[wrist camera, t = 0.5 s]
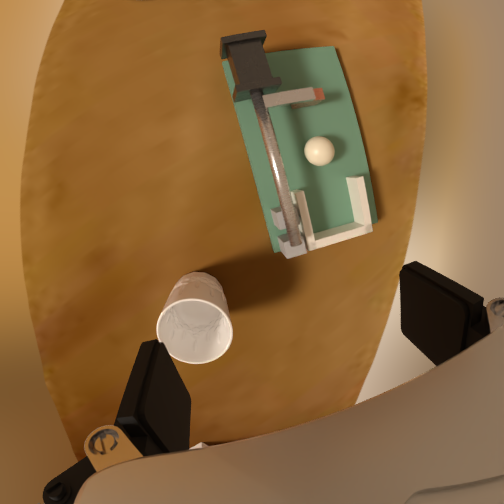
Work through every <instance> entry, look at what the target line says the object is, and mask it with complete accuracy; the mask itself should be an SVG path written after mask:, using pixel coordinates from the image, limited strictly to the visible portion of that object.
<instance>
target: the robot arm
mask: <svg viewBox="0 0 504 504" xmlns="http://www.w3.org/2000/svg"><path fill="white" fill-rule="evenodd" d="M399 276H400V300H401V330H402V333H403V334H404V335H405V336H406V337H407V338H408V339H409V340H410V341H411V342H412V343H413V344H414V345H415V346H416V347H417V348H418V349H419V350H420V351H421V352H422V353H424V354H425V355H426V356H427V357H428V358H429V359H430V360H431V361H432V362H433V363H434V364H435V365H436V367H434V368H432V369H431V370H429V371H427V372H425V373H423V374H421V375H419V376H417V377H415V378H413V379H411V380H409V381H407V382H405V383H403V384H401V385H399V386H397V387H395V388H393V389H391V390H388V391H386V392H384V393H382V394H380V395H378V396H375V397H373V398H370V399H368V400H366V401H363V402H361V403H358V404H356V405H353V406H351V407H348V408H346V409H343V410H340V411H338V412H335V413H332V414H329V415H327V416H324V417H321V418H318V419H315V420H312V421H309V422H306V423H303V424H299V425H296V426H293V427H289V428H286V429H283V430H279V431H275V432H272V433H268V434H264V435H260V436H256V437H252V438H248V439H243V440H239V441H234V442H229V443H224V444H219V445H213V446H208V447H202V448H195V449H189V436H190V414H191V398H190V395H189V392H188V391H187V389H186V387H185V385H184V383H183V381H182V379H181V377H180V375H179V373H178V371H177V369H176V367H175V365H174V363H173V361H172V359H171V357H170V355H169V353H168V350H167V348H166V346H165V344H164V343H163V342H159V341H158V340H157V339H155V340H151V341H146V342H142V344H141V346H140V349H139V352H138V355H137V357H136V360H135V363H134V366H133V369H132V371H131V374H130V377H129V380H128V383H127V386H126V389H125V392H124V395H123V398H122V401H121V404H120V407H119V410H118V414H117V417H116V420H115V423H114V426H113V425H107V426H103V427H100V428H98V429H96V430H94V431H93V432H92V433H91V434H90V435H89V436H88V437H87V439H86V441H85V446H84V449H85V452H86V454H87V456H86V457H85V458H83V459H82V460H81V461H79V462H78V463H76V464H75V465H73V466H72V467H70V468H69V469H67V470H66V471H64V472H63V473H61V474H60V475H59V476H57V477H55V478H54V479H53V480H51V481H50V482H49V483H48V484H47V485H46V487H45V488H44V491H43V500H44V504H504V298H495V299H493V300H491V301H490V302H488V304H487V306H486V307H484V306H483V301H484V298H483V297H481V296H480V295H478V294H476V293H474V292H473V291H471V290H469V289H467V288H465V287H464V286H462V285H460V284H458V283H457V282H455V281H453V280H451V279H449V278H447V277H446V276H444V275H442V274H440V273H438V272H436V271H434V270H432V269H431V268H429V267H427V266H425V265H423V264H421V263H419V262H417V261H414V262H411V263H409V264H406V265H404V266H403V267H402V270H401V271H400V274H399ZM38 504H40V503H38Z"/></svg>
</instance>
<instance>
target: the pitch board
mask: <svg viewBox="0 0 504 504" xmlns="http://www.w3.org/2000/svg"><path fill="white" fill-rule="evenodd" d="M265 55H266V58H267V61H268V64H269V67H270V70H271V74H272V77H273V78H274V77H280V78H281V81H282V84H281V86H280V87H279V88H278V89H277V91H276V92H275V93H278V92H283V91H289V90H295V89H302V88H309V87H313V89H315V88H322V90H323V93H324V96H325V99H324V100H323V101H321V102H319V103H318V104H316V105H314V106H308V107H302V108H297V109H292V108H291V105H286V106H281V107H276V108H271V109H268V110H269V113H270V117H271V120H272V124H273V127H274V131H275V135H276V138H277V142H278V146H279V149H280V153H281V157H282V161H283V165H284V168H285V172H286V176H287V180H288V184H289V188H290V191H292V190H296V189H298V190H302V191H304V194H305V198H306V202H307V207H308V211H309V216H310V220H311V225H312V229H313V234H314V233H317V232H321V231H324V230H328V229H331V228H335V227H338V226H342V225H345V224H348V223H352V222H355V221H354V216H353V210H352V205H351V200H350V195H349V190H348V185H347V180H346V177H349V176H363V178H364V183H365V188H366V193H367V199H368V205H369V210H370V216H371V223H372V224H374V223H377V222H378V219H377V212H376V206H375V200H374V195H373V189H372V184H371V179H370V174H369V169H368V164H367V159H366V155H365V150H364V146H363V142H362V138H361V134H360V130H359V126H358V122H357V118H356V114H355V111H354V107H353V104H352V100H351V97H350V93H349V90H348V87H347V84H346V81H345V77H344V74H343V71H342V68H341V65H340V62H339V59H338V57H337V54H336V51H335V48H334V46H330V47H315V48H304V49H294V50H286V51H278V52H271V53H265ZM222 65H223V69H224V72H225V76H226V79H227V83H228V86H229V89H230V93H231V96H233V92H234V87H235V82H234V79H233V76H232V72H231V69H230V65H229V62H228V61H223V62H222ZM232 100H233V97H232ZM233 103H234V101H233ZM234 107H235V110H236V114H237V118H238V121H239V125H240V128H241V132H242V135H243V139H244V143H245V146H246V150H247V154H248V157H249V161H250V165H251V168H252V172H253V176H254V179H255V183H256V187H257V191H258V194H259V198H260V202H261V206H262V209H263V213H264V217H265V221H266V225H267V229H268V232H269V236H270V240H271V244H272V248H273V251H274V253H276V252H280V251H281V252H282V253H283V254H284V256H285V257H286V258H287V259H289V258H292V257H296V256H299V255H302V254H306V253H307V252H306V247H305V242H304V238H303V236H301V239H302V244H301V245H299V246H295V247H291V246H290V243H289V239H288V235H287V231H286V227H285V223H284V219H283V214H282V210H281V206H280V202H279V198H278V195H277V191H276V187H275V183H274V179H273V175H272V171H271V168H270V164H269V160H268V156H267V153H266V149H265V145H264V142H263V138H262V134H261V131H260V127H259V123H258V120H257V116H256V113H255V109H254V106H253V102H252V99H249V100H245V101H240V102H236V103H234ZM316 136H322V137H325V138H327V139H328V140H330V141H331V143H332V144H333V146H334V150H335V154H334V157H333V159H332V161H331V162H330V163H328V164H327V165H324V166H316V165H313V164H312V163H310V162H309V161H308V160H307V158H306V156H305V153H304V148H305V145H306V143H307V142H308V140H310V139H311V138H313V137H316ZM294 209H295V213H296V217H297V221H298V225H300V220H299V216H298V212H297V208H296V207H295V206H294Z"/></svg>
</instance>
